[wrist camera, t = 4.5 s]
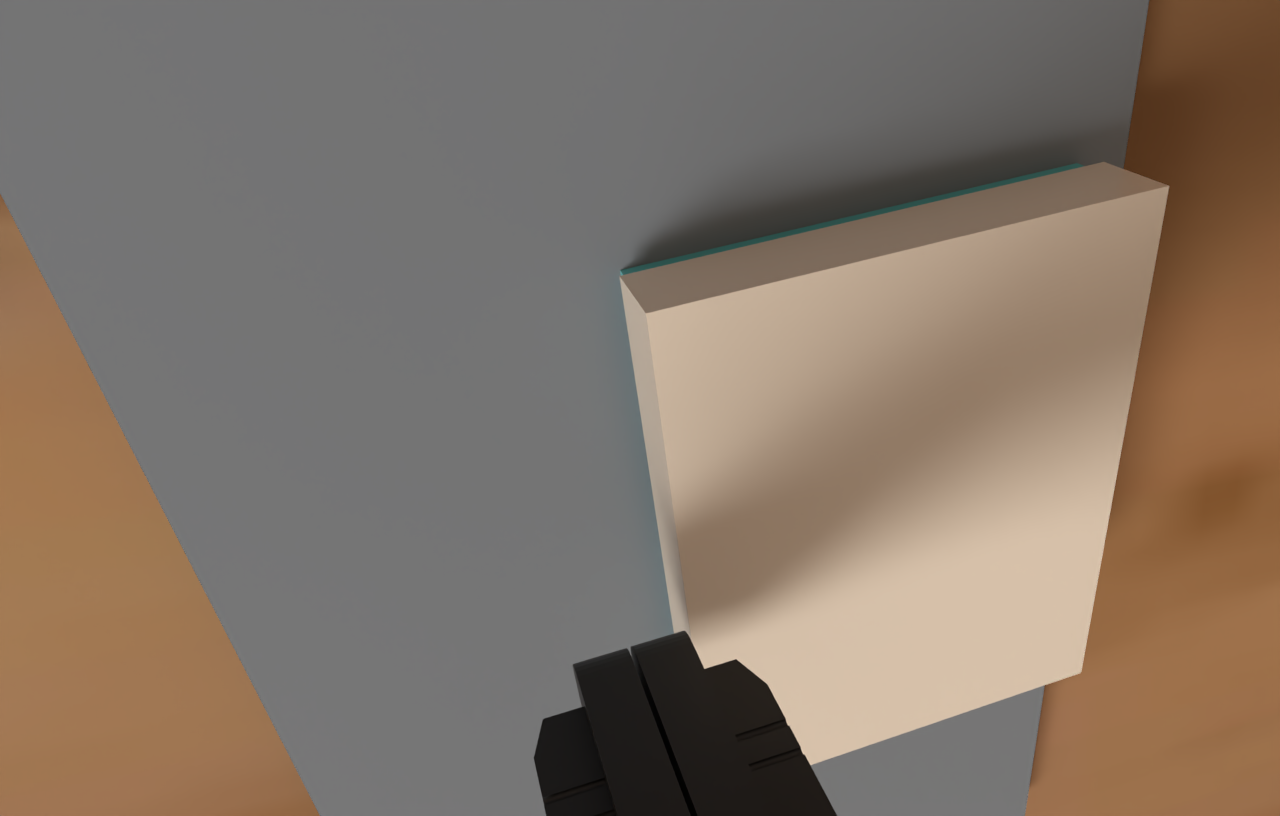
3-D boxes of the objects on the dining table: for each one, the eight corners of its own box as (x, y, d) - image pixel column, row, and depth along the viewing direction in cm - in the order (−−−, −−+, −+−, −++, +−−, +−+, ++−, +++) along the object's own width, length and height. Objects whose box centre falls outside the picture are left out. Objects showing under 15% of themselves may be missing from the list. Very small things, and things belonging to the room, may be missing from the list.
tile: (646, 312, 10) (1169, 185, 12) (611, 264, 12) (1084, 154, 13) (713, 798, 15) (1081, 672, 16) (683, 724, 17) (1025, 612, 18)
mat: (-141, -159, 9) (-184, -163, 8) (1148, -330, 11) (1201, -345, 10) (436, 1010, 20) (439, 1048, 19) (1001, 804, 22) (1021, 832, 22)
